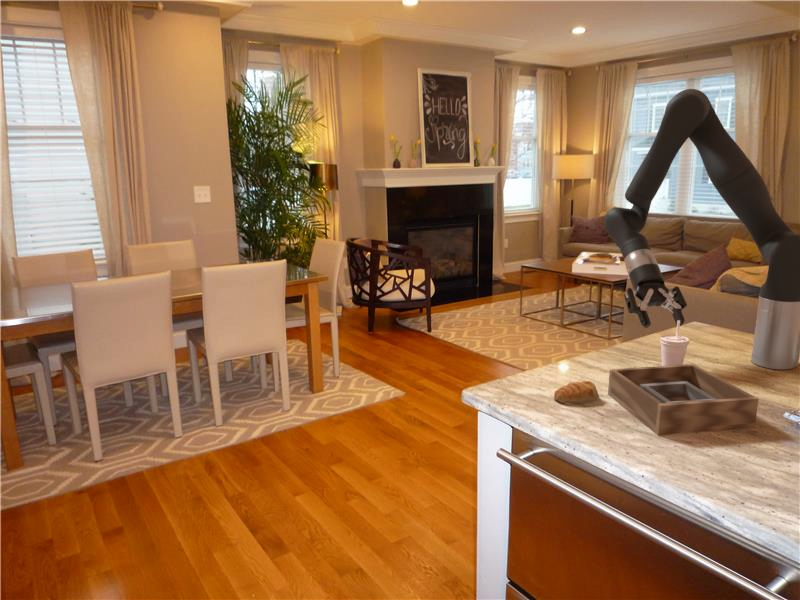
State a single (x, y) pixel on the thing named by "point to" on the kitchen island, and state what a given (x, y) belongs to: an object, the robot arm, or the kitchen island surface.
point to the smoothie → (673, 348)
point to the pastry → (577, 393)
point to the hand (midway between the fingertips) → (664, 325)
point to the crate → (682, 399)
